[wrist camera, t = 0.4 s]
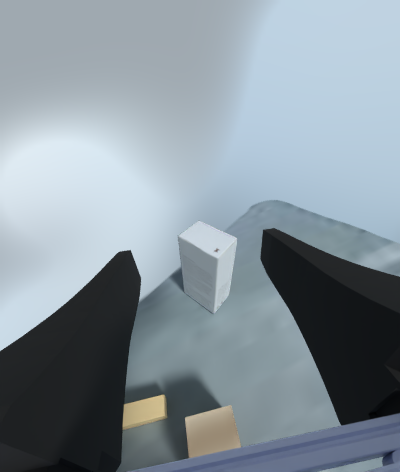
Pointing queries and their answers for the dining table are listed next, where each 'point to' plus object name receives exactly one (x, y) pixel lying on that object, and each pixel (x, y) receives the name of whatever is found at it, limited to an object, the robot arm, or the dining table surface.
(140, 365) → the dining table surface
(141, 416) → the pair of wooden bars
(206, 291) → the skincare box
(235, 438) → the plug block
